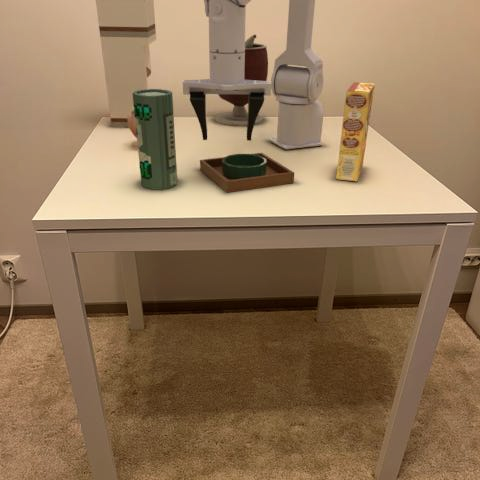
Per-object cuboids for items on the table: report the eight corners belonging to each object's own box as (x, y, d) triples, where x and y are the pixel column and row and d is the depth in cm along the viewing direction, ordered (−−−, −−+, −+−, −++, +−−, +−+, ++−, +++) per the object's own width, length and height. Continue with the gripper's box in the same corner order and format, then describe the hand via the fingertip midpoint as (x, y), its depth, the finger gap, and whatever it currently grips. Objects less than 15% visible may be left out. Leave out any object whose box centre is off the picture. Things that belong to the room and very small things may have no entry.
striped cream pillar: (155, 127, 120) (141, -52, 100) (111, 126, 120) (89, -53, 100) (161, 116, 130) (150, -49, 110) (121, 116, 130) (102, -50, 110)
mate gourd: (205, 116, 131) (203, 29, 120) (252, 112, 136) (254, 28, 124) (226, 129, 120) (226, 35, 108) (277, 125, 124) (282, 33, 113)
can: (145, 177, 91) (137, 88, 82) (178, 178, 90) (173, 89, 82) (139, 189, 86) (129, 95, 77) (174, 190, 85) (168, 96, 77)
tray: (261, 162, 99) (261, 152, 98) (293, 182, 89) (294, 172, 88) (200, 169, 95) (199, 159, 94) (226, 192, 85) (226, 181, 84)
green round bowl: (251, 164, 97) (252, 151, 95) (274, 176, 91) (274, 163, 89) (215, 170, 93) (214, 157, 92) (235, 183, 88) (235, 169, 86)
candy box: (357, 182, 90) (371, 91, 81) (334, 179, 91) (346, 89, 82) (362, 168, 97) (376, 83, 88) (341, 165, 98) (352, 81, 89)
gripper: (179, 53, 75) (184, 144, 83) (274, 55, 76) (269, 145, 84) (183, 48, 81) (186, 133, 89) (270, 49, 82) (266, 134, 89)
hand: (227, 138), depth 87 cm, fingers open, 7 cm apart
